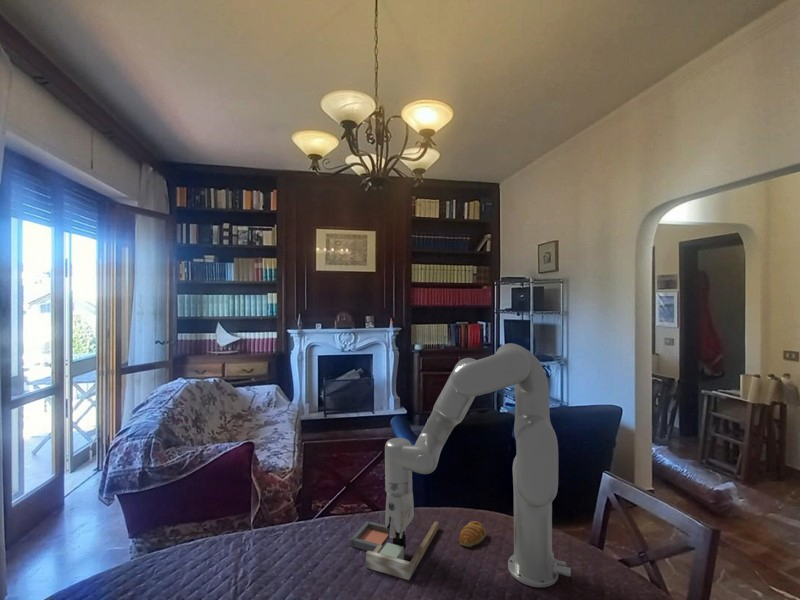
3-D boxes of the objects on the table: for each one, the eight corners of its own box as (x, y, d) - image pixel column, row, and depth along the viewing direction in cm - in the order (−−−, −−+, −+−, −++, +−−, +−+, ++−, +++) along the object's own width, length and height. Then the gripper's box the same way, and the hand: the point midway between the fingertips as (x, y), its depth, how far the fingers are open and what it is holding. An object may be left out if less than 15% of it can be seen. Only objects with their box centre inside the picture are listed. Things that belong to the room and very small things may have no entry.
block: (403, 561, 111) (403, 546, 111) (396, 572, 107) (396, 557, 107) (387, 556, 113) (387, 542, 113) (379, 567, 109) (379, 553, 109)
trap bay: (392, 533, 124) (391, 526, 124) (376, 553, 115) (376, 546, 115) (367, 527, 128) (367, 520, 128) (350, 546, 118) (350, 539, 118)
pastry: (474, 552, 115) (474, 539, 115) (453, 544, 119) (453, 531, 119) (487, 536, 123) (487, 523, 123) (467, 529, 127) (467, 516, 126)
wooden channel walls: (438, 528, 126) (438, 515, 126) (408, 580, 104) (408, 564, 104) (402, 520, 131) (401, 507, 131) (366, 567, 109) (365, 552, 109)
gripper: (400, 499, 105) (401, 569, 106) (420, 475, 119) (421, 537, 119) (374, 494, 108) (375, 562, 109) (397, 471, 122) (397, 531, 122)
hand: (399, 549), depth 114 cm, fingers closed
